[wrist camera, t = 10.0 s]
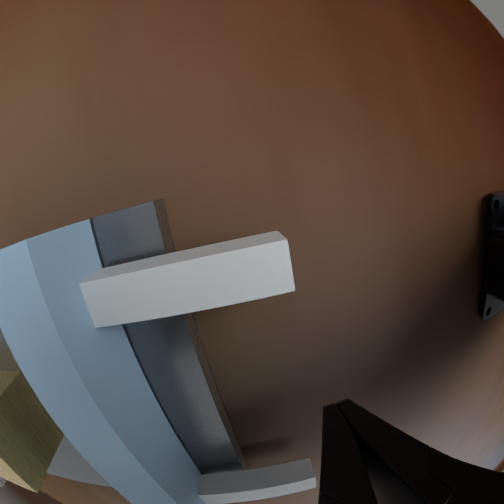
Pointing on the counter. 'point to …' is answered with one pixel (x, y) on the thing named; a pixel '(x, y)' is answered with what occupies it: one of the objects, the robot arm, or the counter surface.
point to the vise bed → (156, 357)
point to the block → (24, 434)
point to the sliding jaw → (131, 353)
